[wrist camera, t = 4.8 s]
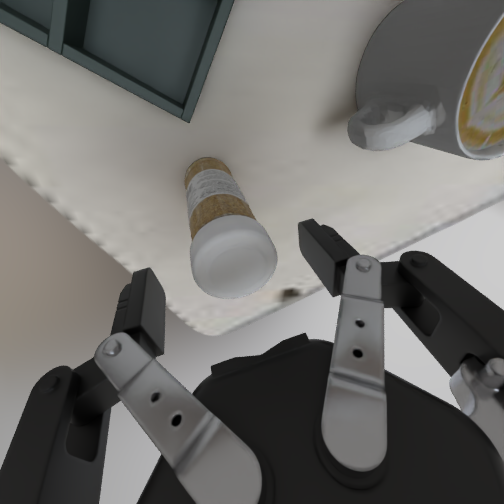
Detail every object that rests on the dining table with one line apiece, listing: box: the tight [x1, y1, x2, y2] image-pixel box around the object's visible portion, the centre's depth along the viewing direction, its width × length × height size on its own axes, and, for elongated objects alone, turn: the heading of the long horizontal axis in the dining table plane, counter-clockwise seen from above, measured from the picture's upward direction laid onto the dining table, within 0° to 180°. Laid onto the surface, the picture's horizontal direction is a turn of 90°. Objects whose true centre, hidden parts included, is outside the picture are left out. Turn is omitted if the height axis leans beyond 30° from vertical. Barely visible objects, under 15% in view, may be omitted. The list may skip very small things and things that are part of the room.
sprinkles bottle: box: [185, 158, 277, 299], centre depth 18 cm, size 5×5×13 cm
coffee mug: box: [348, 0, 504, 160], centre depth 18 cm, size 13×10×10 cm
